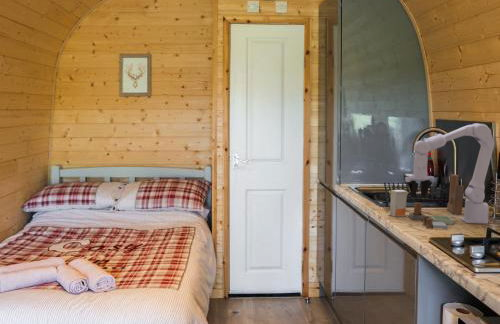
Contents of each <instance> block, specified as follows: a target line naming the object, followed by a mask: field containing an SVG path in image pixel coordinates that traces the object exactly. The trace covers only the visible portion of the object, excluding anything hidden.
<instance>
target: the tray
mask: <svg viewBox="0 0 500 324" xmlns="http://www.w3.org/2000/svg"><path fill="white" fill-rule="evenodd" d="M428 216H429V217H430V218H432V219H433V222H443V223H445V224H449V225H450V226H451V225H452V226H454V223H455V220H454V219H453V218H451V217H450V216H449V215H432V214H431V215H430V214H429V215H428ZM449 225H448V226H449Z"/></svg>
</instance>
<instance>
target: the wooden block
mask: <svg viewBox="0 0 500 324" xmlns="http://www.w3.org/2000/svg"><path fill="white" fill-rule="evenodd" d="M449 180H450V181H449V194H448V202H447V207H446V210H447V211H449V212H450V213H452V214H453V215H459V216H460V215H462V214H463V213H462V212H463V200H464V192H465V190H464V189H465V186H464V185H459V174H453V173H452V174H450V179H449Z"/></svg>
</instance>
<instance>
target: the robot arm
mask: <svg viewBox="0 0 500 324" xmlns="http://www.w3.org/2000/svg"><path fill="white" fill-rule="evenodd" d="M488 126H489V125H486V124H484V123H478V122H475V123H472V124H467V125H465V126H462V127H459V128H458V129H455V130H452V131H451V132H450V131H449V132H447V133H446V134H442V133H434V134H433V136H431V137H427V138H426V137H424V138H423V140H418V141H416V142H415V144H414V146H413V149H414V157H413V158H414V159H413V173H412V174H413V175H412V176H406V177H405V180H404V182H406V183H407V185H408V188H409V191H410V195H411V198H416V197H417V191H418V186H419V184H420V186H421V189H420V190H421V191H420V193H421V195H420V196H421V197H424V198H426V196H427V195H428V191H429V189H430V187H431V186H432V184H433V182H434V181H435V176H432V175H427V174H428V159H429V157H428V155H429V154H428V153H430V151H434V150H436V149H439V148H442V147H444V146H446V143H447V142H450V141H453V140H455V139H458V138H462V137H465V136H467V137H472V138H474V139H475V140H476V141H477V142H478V143H479V145H480V148H479V152H478V156H477V160H476V162H475V163H476V164H475V167H474V171H473V175H472V178H471V180H470V181H469V183H468V186H467V187H466V188H465V190H464V196H465V197H466V199H465V202H464V213H463V217H460V220H462V221H464V222H465V223H466V224H468V223H469V224H489V222H488V220H489V204H488V203H487V202H484V200H485V198H486V197H485V196H486V194H485V189H486V188H485V187H486V186H485V180H486V176H487V173H488V169H489V166H490V162H491V158H492V154H493V151H494V148H495V140H494V137H493V134H492V130H491V129H490V128H489V127H488ZM418 182H419V183H418Z"/></svg>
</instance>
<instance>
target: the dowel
mask: <svg viewBox="0 0 500 324" xmlns="http://www.w3.org/2000/svg"><path fill="white" fill-rule="evenodd" d="M413 205H414V206H413V207H414V208H413V213H414V215H421V213H422V206H423V204H422V202H414V204H413Z"/></svg>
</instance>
